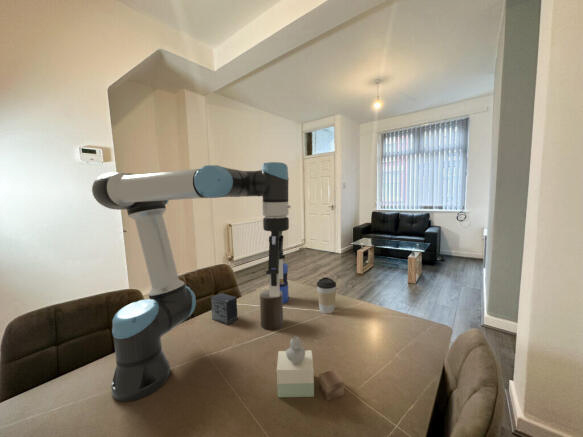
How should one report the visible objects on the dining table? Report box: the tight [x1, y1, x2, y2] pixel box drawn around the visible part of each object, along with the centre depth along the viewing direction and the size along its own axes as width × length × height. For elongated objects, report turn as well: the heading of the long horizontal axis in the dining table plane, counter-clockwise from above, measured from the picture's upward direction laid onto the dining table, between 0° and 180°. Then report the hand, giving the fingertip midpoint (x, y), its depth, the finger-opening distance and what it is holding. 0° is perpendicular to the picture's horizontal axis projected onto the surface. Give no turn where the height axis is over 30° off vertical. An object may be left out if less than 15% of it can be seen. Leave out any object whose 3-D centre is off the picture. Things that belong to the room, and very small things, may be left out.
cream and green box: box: [276, 350, 315, 398], centre depth 69 cm, size 10×8×8 cm
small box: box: [210, 292, 239, 326], centre depth 109 cm, size 11×6×10 cm, turn 58°
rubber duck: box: [285, 335, 305, 364], centre depth 69 cm, size 5×7×8 cm
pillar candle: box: [259, 289, 284, 331], centre depth 103 cm, size 10×10×15 cm
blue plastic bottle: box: [272, 258, 290, 305], centre depth 125 cm, size 9×9×25 cm
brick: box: [318, 369, 345, 401], centre depth 67 cm, size 5×5×4 cm
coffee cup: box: [316, 276, 337, 314], centre depth 114 cm, size 9×9×15 cm
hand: (277, 286), depth 72 cm, fingers open, 13 cm apart
